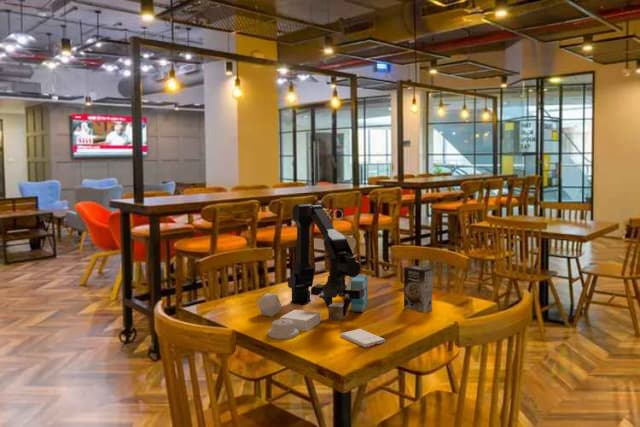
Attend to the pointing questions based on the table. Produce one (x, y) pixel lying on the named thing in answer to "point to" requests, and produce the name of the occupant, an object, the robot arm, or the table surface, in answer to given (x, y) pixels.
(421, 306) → the coffee box
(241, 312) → the table surface
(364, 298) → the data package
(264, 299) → the die
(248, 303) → the table surface
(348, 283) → the flower in vase
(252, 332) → the table surface
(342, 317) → the grey cube
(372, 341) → the external hard drive
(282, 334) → the mechanical component
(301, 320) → the grey block
